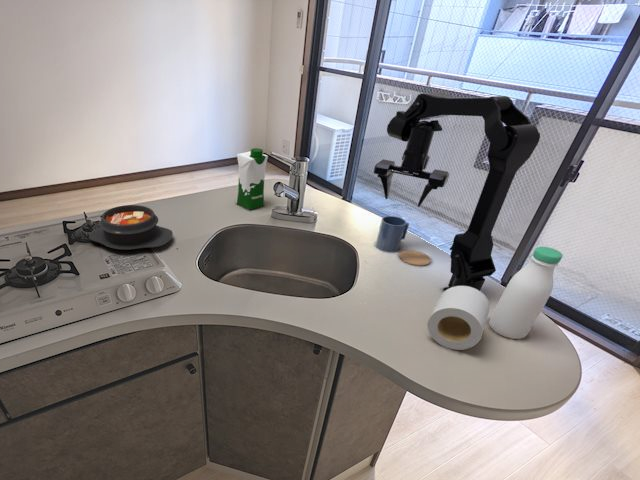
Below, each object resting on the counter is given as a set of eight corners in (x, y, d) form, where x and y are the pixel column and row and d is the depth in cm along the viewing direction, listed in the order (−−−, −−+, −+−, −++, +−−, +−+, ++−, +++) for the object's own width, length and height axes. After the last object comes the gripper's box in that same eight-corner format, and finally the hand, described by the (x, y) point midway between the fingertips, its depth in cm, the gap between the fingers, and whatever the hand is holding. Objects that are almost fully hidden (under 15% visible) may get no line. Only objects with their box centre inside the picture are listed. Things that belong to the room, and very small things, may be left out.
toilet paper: (432, 315, 93) (447, 279, 87) (479, 331, 88) (497, 295, 82) (421, 337, 86) (436, 301, 80) (471, 357, 82) (490, 319, 76)
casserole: (78, 250, 114) (71, 223, 109) (106, 223, 128) (101, 199, 124) (161, 259, 111) (158, 232, 106) (180, 230, 126) (178, 205, 121)
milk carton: (249, 211, 139) (251, 153, 127) (233, 203, 145) (233, 147, 133) (267, 206, 144) (271, 149, 132) (251, 198, 149) (253, 143, 137)
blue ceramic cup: (384, 253, 117) (391, 227, 112) (371, 242, 122) (377, 217, 117) (409, 249, 119) (417, 223, 114) (395, 239, 124) (403, 214, 119)
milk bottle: (524, 345, 85) (572, 265, 73) (485, 330, 89) (524, 252, 77) (528, 327, 90) (574, 249, 78) (491, 314, 94) (529, 238, 82)
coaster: (436, 263, 113) (437, 262, 112) (411, 267, 110) (412, 266, 110) (417, 249, 119) (417, 248, 119) (393, 253, 117) (393, 252, 117)
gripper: (461, 146, 105) (442, 201, 114) (392, 134, 113) (379, 187, 123) (453, 155, 97) (433, 214, 107) (379, 142, 106) (367, 198, 115)
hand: (402, 202), depth 113 cm, fingers open, 9 cm apart
